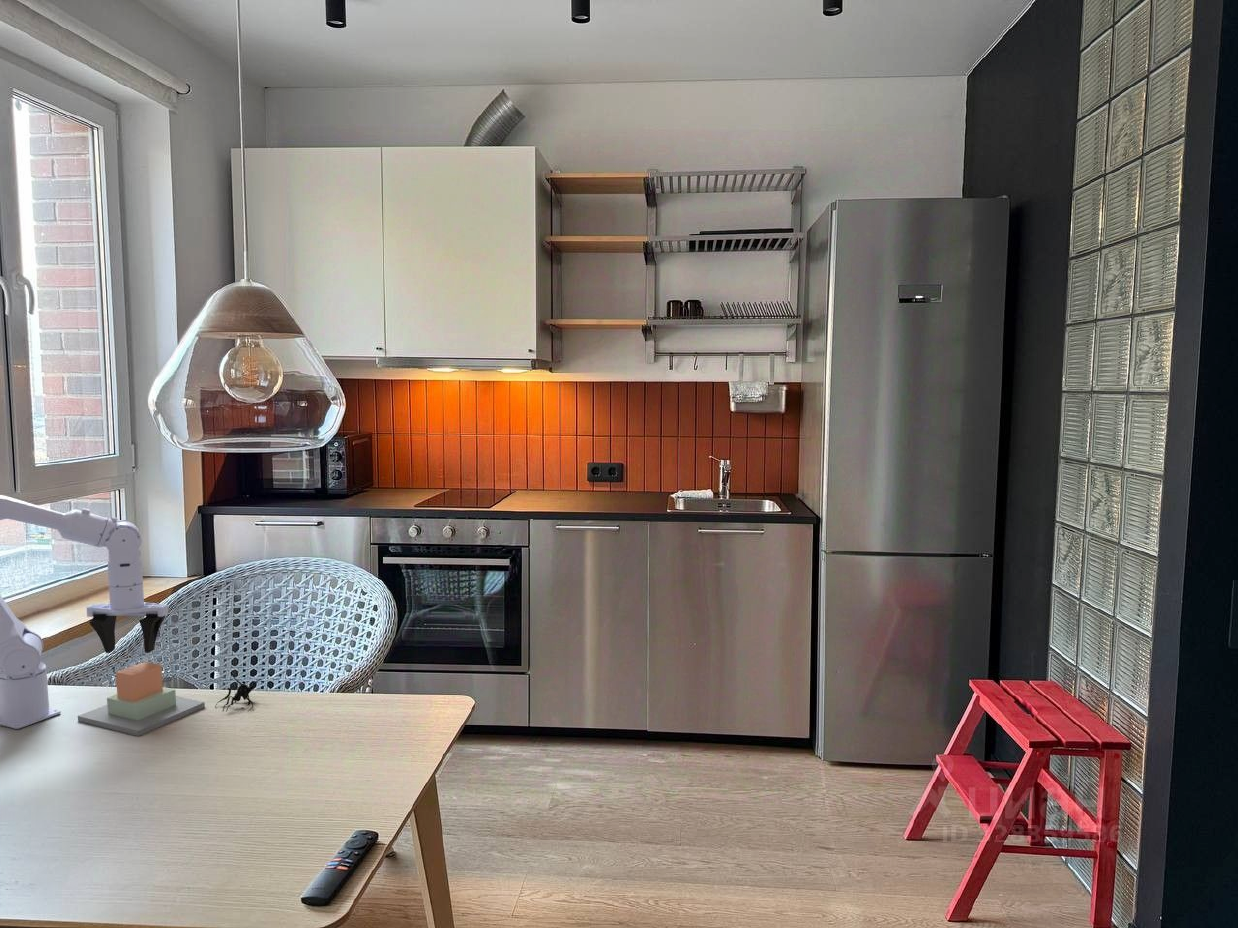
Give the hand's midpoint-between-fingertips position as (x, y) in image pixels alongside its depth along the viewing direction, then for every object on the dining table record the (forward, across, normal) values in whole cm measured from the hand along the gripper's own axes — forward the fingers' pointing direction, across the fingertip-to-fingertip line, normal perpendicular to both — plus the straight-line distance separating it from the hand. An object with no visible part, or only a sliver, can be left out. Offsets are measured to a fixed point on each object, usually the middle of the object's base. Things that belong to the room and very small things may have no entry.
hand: (130, 651), depth 162 cm
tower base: (+10, +6, -7) cm, 13 cm away
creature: (+10, +22, -4) cm, 24 cm away
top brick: (+6, +6, -7) cm, 11 cm away
